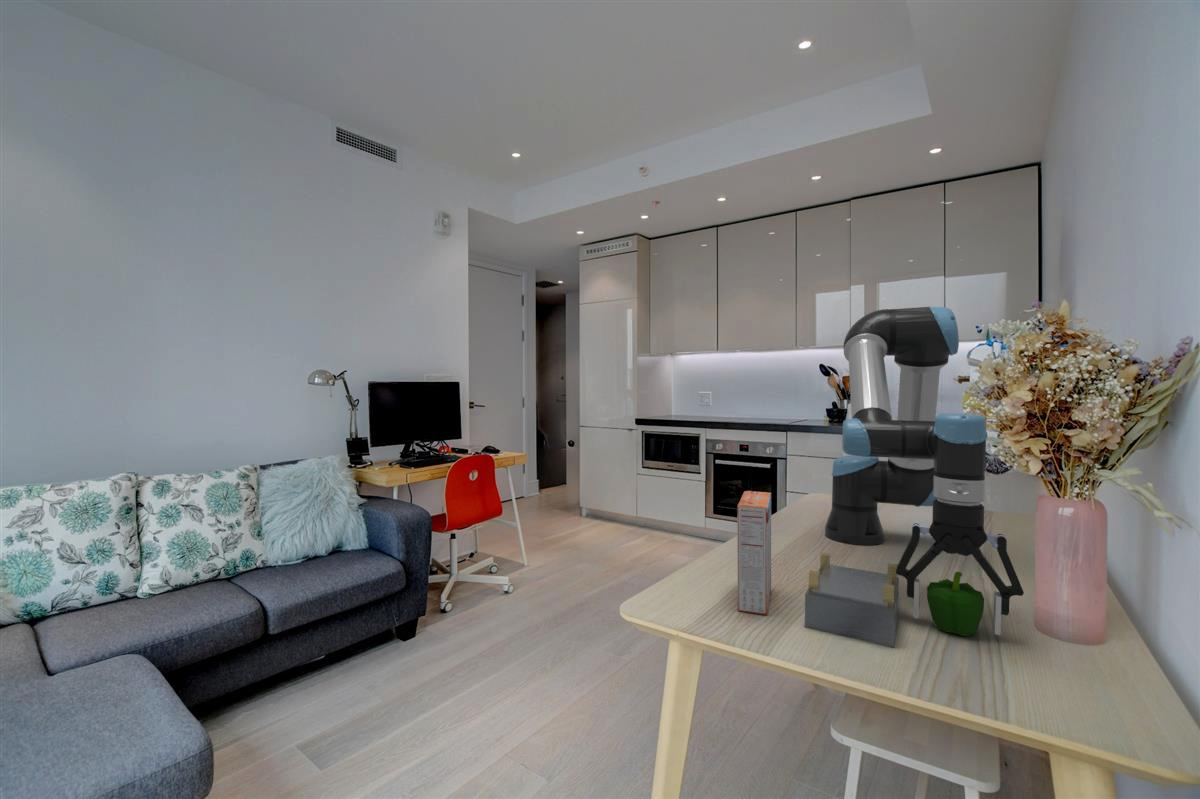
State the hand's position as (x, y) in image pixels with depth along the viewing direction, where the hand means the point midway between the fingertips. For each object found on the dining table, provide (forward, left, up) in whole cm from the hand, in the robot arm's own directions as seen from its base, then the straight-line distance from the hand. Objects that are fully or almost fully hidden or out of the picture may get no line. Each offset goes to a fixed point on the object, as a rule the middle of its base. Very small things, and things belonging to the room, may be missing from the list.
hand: (955, 623), depth 94 cm
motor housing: (+2, -16, -1) cm, 16 cm away
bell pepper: (0, 0, -1) cm, 1 cm away
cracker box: (+6, -34, -1) cm, 34 cm away
